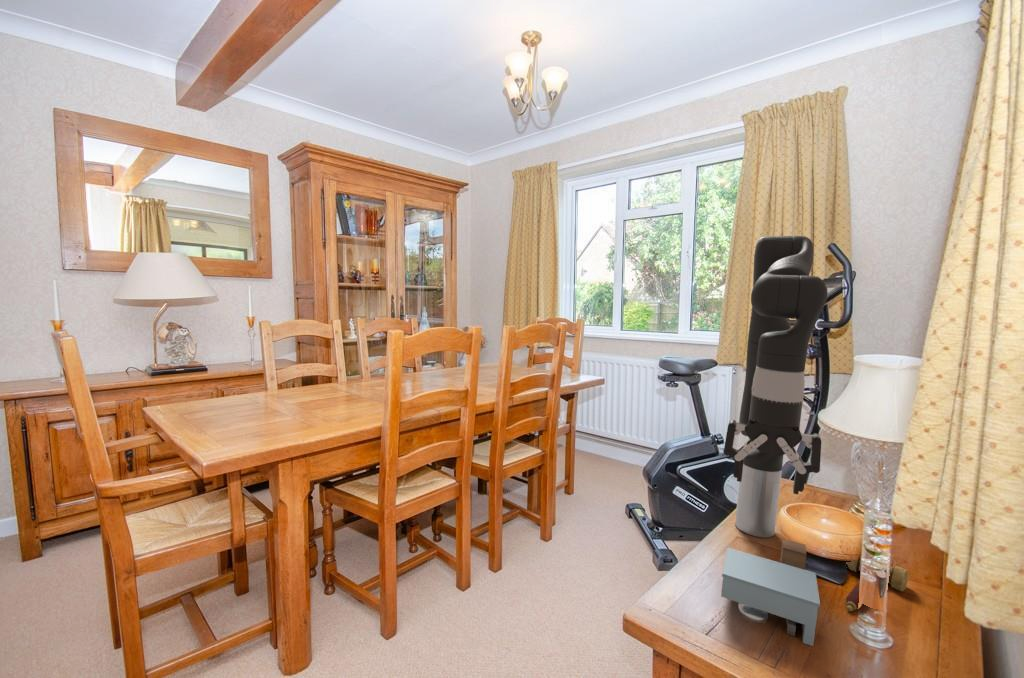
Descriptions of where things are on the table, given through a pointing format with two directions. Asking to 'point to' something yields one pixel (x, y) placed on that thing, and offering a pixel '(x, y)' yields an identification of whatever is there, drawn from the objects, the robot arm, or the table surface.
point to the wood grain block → (794, 557)
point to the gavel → (896, 580)
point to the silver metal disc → (752, 613)
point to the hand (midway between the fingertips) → (766, 486)
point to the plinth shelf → (772, 589)
